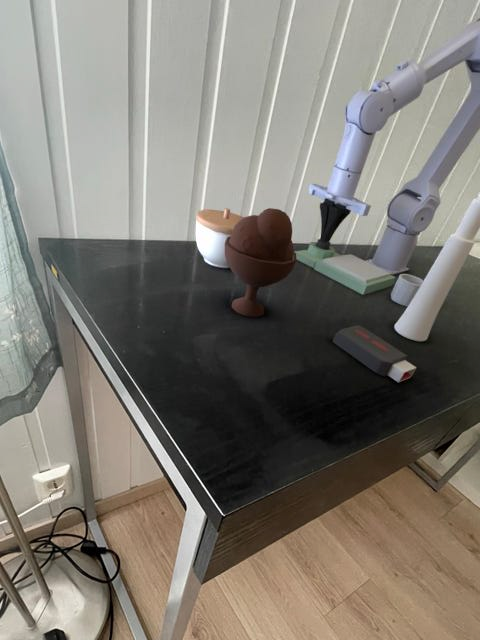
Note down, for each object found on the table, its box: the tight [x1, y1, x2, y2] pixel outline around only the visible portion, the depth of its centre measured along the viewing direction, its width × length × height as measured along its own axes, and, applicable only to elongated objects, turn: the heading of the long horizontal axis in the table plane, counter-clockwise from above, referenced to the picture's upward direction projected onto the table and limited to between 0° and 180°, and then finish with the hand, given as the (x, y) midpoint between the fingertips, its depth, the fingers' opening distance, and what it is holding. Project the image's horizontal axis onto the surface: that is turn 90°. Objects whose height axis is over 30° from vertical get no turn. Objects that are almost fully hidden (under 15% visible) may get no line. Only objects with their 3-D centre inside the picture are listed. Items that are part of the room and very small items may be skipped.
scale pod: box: [294, 241, 343, 269], centre depth 87 cm, size 12×6×3 cm, turn 134°
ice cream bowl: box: [225, 207, 298, 318], centre depth 57 cm, size 11×11×15 cm
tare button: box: [316, 238, 331, 250], centre depth 85 cm, size 3×3×2 cm
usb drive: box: [332, 324, 417, 383], centre depth 56 cm, size 5×12×3 cm, turn 36°
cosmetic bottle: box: [393, 191, 480, 342], centre depth 60 cm, size 6×6×22 cm
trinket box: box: [195, 207, 245, 269], centre depth 71 cm, size 11×11×9 cm
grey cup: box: [390, 273, 424, 308], centre depth 77 cm, size 6×6×4 cm
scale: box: [313, 253, 396, 296], centre depth 83 cm, size 13×13×3 cm
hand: (324, 240), depth 85 cm, fingers closed
